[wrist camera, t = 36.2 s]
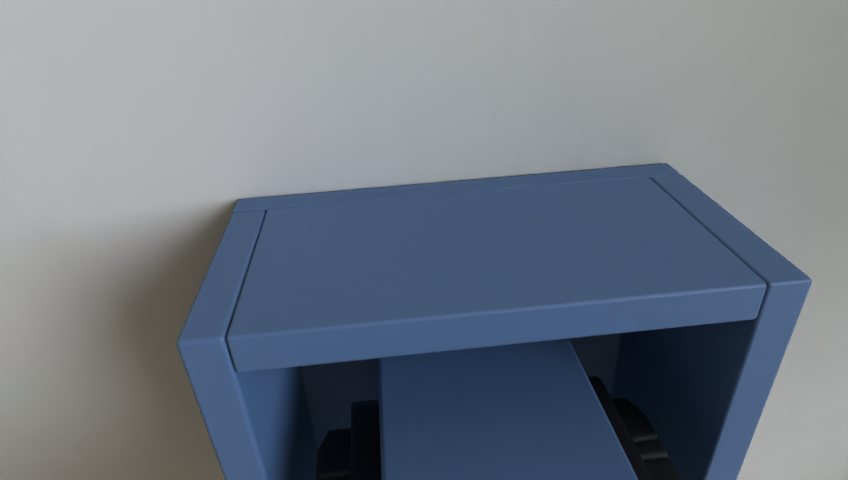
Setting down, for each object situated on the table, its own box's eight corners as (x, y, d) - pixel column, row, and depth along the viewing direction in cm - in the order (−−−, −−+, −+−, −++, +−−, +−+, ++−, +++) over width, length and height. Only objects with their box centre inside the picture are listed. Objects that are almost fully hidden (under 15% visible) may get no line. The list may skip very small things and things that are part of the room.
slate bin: (306, 481, 16) (288, 660, 12) (237, 198, 12) (172, 343, 8) (613, 445, 17) (689, 605, 13) (667, 162, 12) (814, 279, 8)
